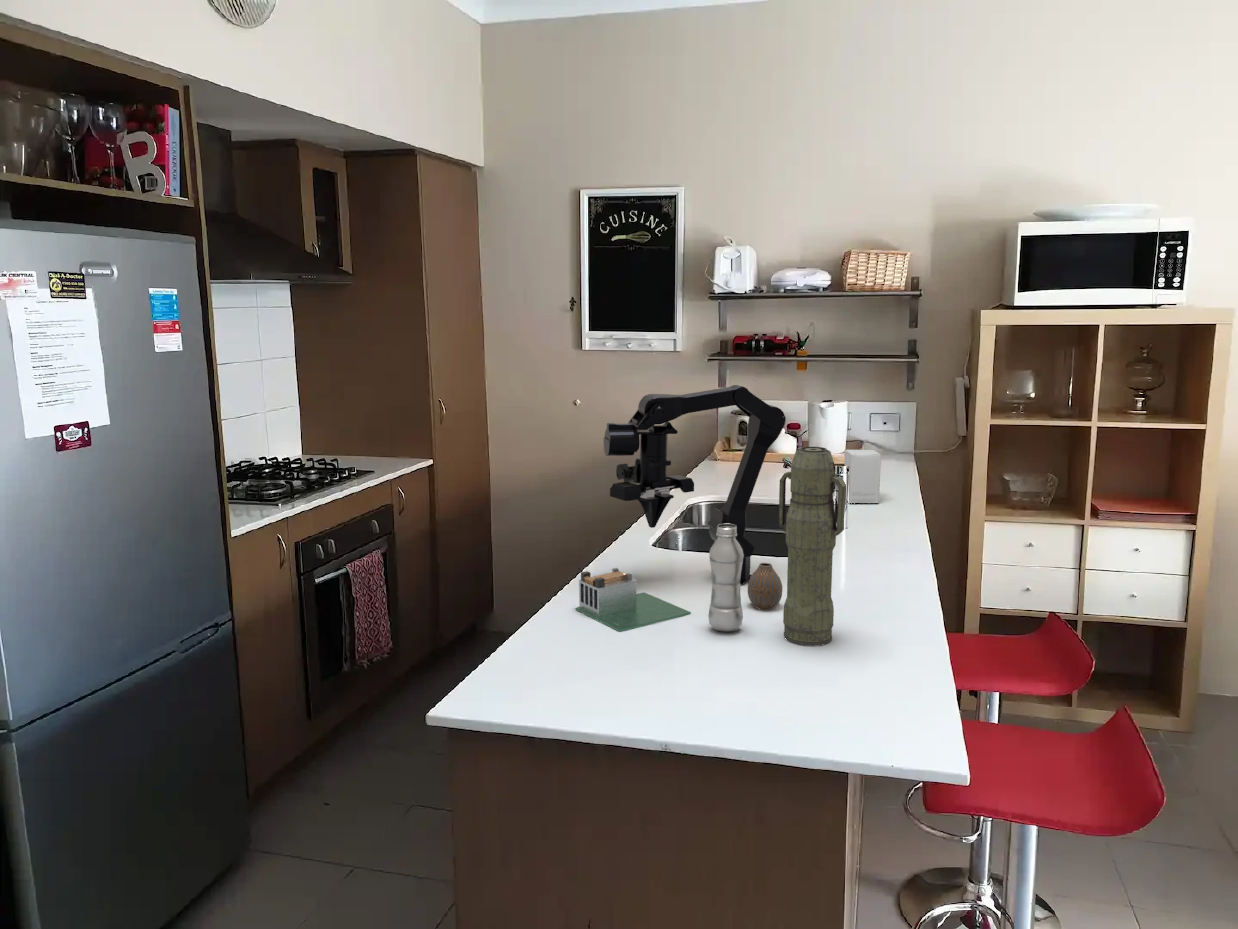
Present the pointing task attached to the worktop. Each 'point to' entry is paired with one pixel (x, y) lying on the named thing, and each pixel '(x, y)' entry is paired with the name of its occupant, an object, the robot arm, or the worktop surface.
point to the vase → (765, 587)
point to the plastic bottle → (726, 580)
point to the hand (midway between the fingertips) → (652, 527)
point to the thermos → (810, 544)
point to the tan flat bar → (606, 577)
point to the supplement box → (863, 475)
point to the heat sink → (623, 604)
